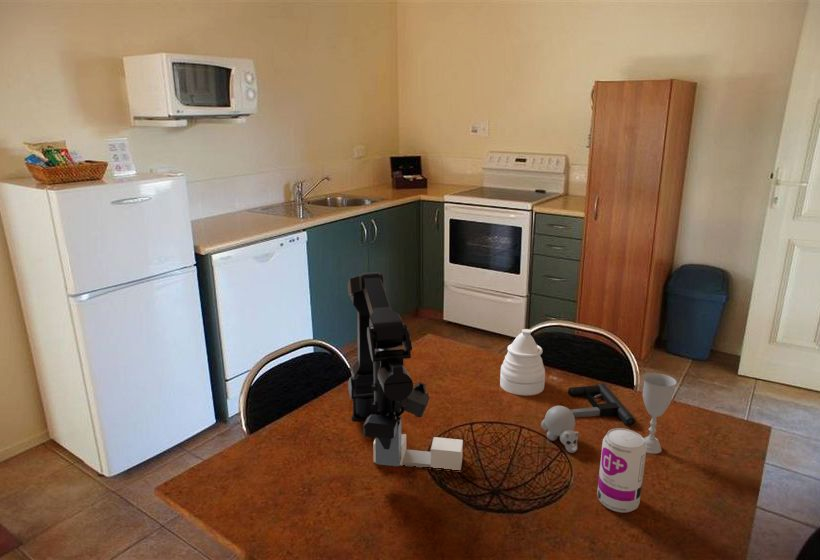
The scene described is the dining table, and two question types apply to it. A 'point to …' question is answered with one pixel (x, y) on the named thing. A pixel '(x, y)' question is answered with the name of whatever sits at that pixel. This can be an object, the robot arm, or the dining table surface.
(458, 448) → the white block dumbbell
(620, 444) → the supplement can
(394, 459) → the grey brushed metal block
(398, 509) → the dining table surface
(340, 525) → the dining table surface
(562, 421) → the round bodied animal figurine
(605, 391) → the toy submachine gun
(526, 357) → the honey pot
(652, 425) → the chalice
